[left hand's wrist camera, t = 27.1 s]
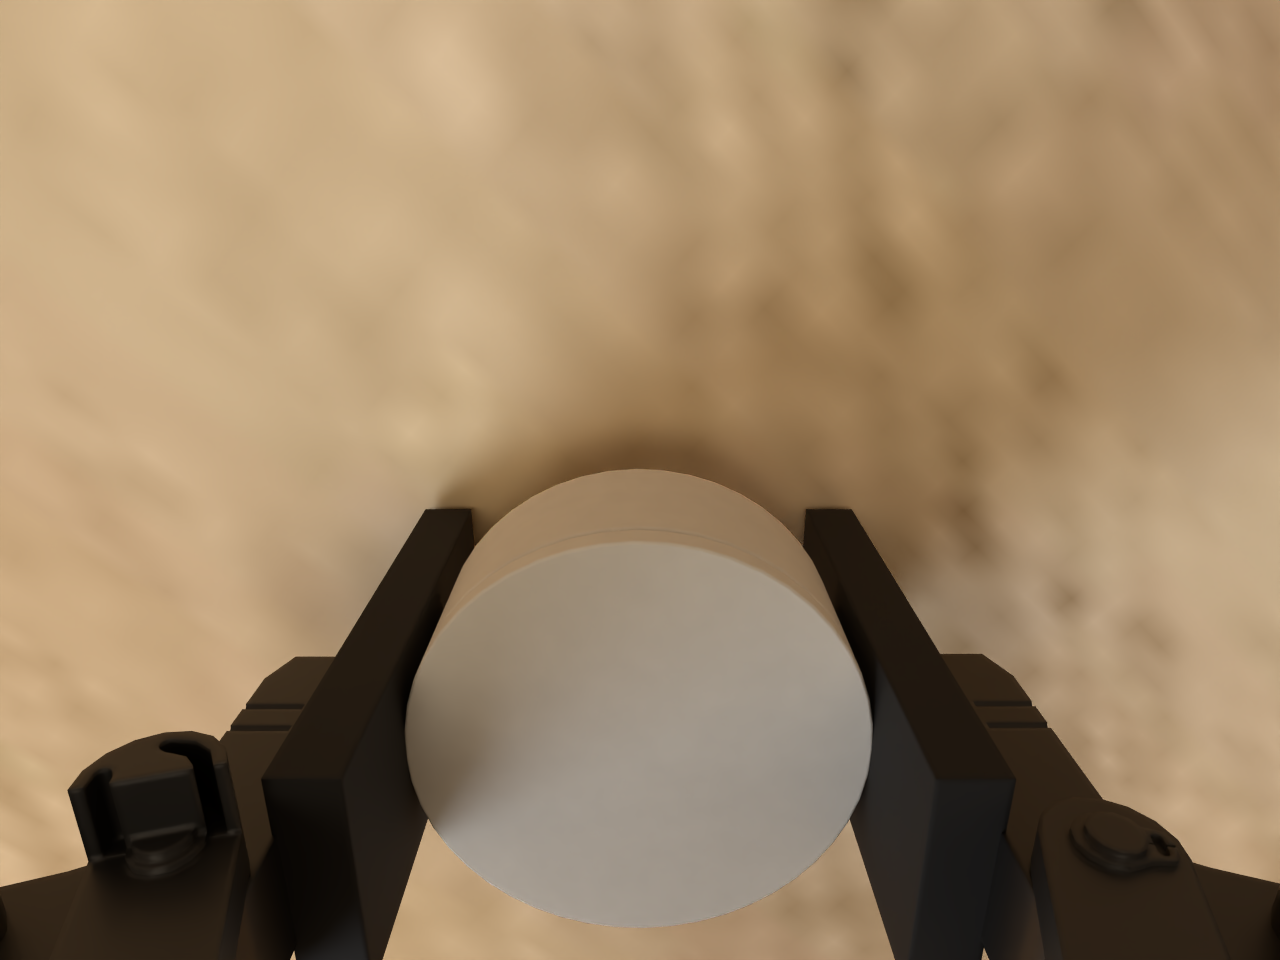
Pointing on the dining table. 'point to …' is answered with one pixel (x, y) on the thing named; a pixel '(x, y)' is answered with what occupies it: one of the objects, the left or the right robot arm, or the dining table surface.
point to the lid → (638, 704)
